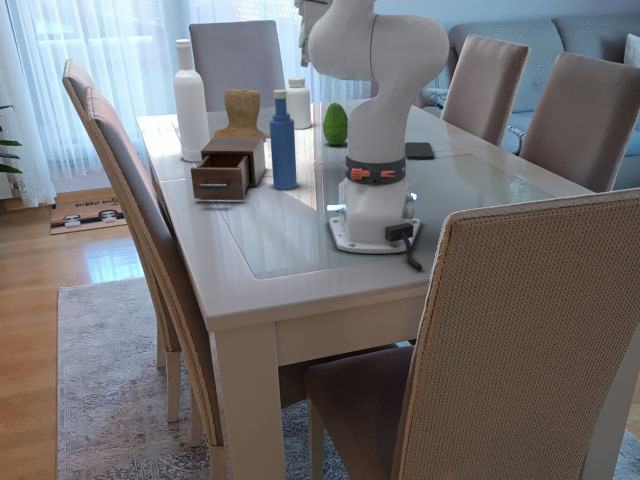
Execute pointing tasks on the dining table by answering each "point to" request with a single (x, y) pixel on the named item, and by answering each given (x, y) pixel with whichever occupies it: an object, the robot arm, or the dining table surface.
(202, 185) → the drawer
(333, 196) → the dining table surface
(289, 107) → the pill bottle
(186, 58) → the bottle
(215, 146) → the cabinet
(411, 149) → the phone
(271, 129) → the bottle
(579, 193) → the dining table surface
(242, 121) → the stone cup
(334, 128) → the avocado
